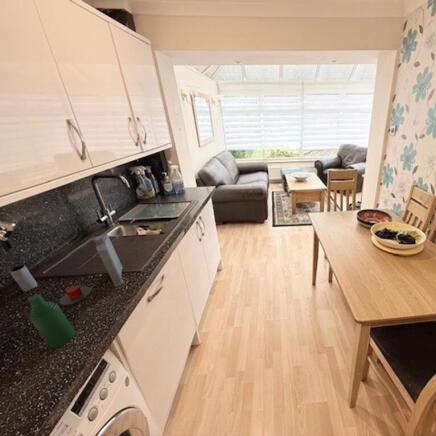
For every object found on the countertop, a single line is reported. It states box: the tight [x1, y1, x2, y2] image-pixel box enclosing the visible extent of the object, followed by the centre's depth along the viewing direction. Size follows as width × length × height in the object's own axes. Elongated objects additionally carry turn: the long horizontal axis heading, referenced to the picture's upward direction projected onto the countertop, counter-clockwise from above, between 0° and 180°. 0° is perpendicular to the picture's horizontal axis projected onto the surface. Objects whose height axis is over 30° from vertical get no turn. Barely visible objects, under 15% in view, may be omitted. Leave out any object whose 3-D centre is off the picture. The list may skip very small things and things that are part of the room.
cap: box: [65, 285, 82, 299], centre depth 93 cm, size 4×4×3 cm
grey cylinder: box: [8, 264, 39, 292], centre depth 98 cm, size 4×4×10 cm
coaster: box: [59, 286, 93, 307], centre depth 94 cm, size 10×10×1 cm
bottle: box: [27, 293, 77, 349], centre depth 72 cm, size 6×6×18 cm
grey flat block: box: [92, 233, 125, 288], centre depth 100 cm, size 16×4×20 cm, turn 35°
